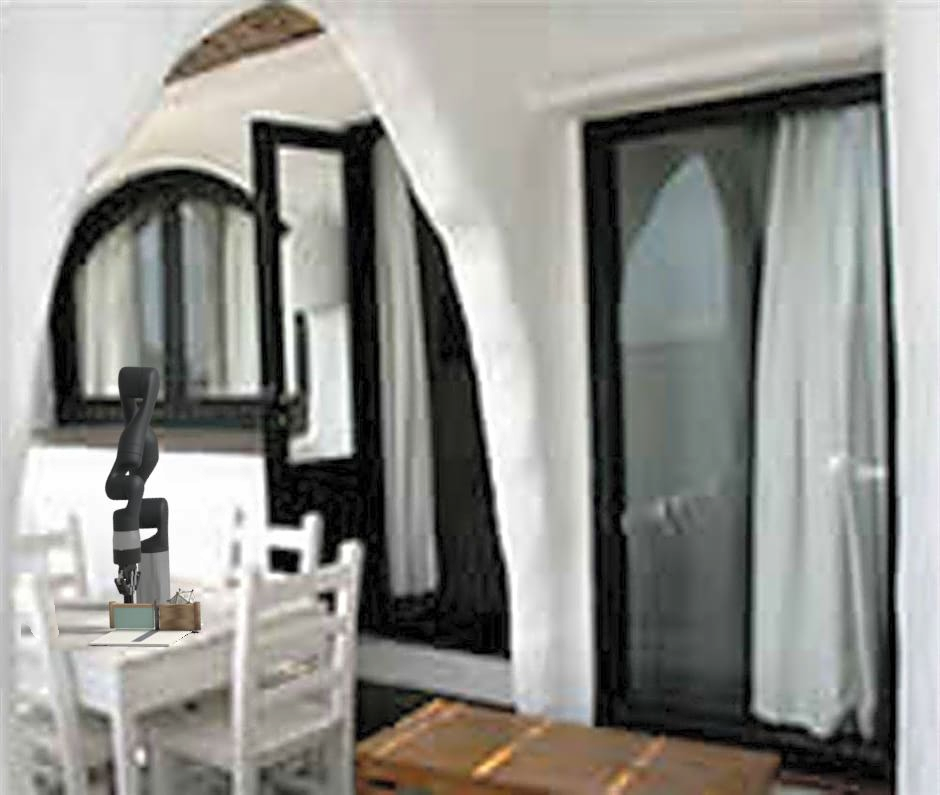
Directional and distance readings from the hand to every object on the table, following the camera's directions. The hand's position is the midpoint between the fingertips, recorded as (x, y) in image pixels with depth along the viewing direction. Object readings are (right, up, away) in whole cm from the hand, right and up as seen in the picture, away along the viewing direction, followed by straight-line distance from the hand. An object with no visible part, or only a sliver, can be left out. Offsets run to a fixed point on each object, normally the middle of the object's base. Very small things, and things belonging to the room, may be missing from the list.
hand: (128, 608), depth 326 cm
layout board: (+8, -6, -10) cm, 14 cm away
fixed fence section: (+15, -5, -7) cm, 17 cm away
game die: (+12, -5, +13) cm, 18 cm away
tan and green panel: (+2, -5, -5) cm, 7 cm away
